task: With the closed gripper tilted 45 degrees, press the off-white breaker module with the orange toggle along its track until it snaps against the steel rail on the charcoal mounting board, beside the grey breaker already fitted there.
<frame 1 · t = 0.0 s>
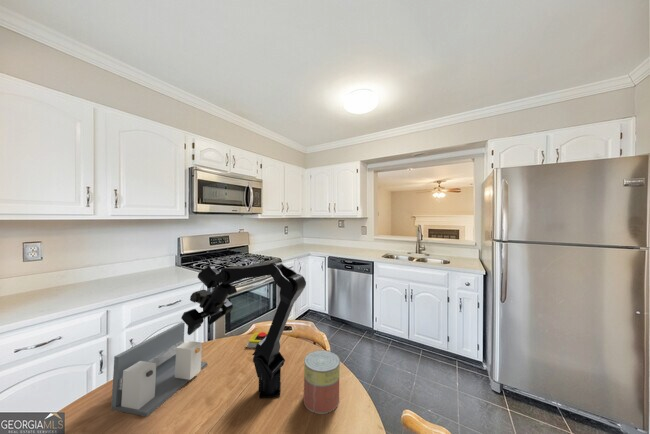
hand: (199, 328, 85), 15 cm above the table, tool tilted 35°, fingers open, 9 cm apart
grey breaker: (140, 384, 68), point 6 cm above the table
emergency button: (264, 344, 105), on the table
canned food: (321, 399, 71), on the table
mounting board: (175, 375, 81), on the table
steel rail: (156, 361, 77), point 7 cm above the table
breaker module: (189, 359, 80), point 6 cm above the table, slide at 5.0 cm
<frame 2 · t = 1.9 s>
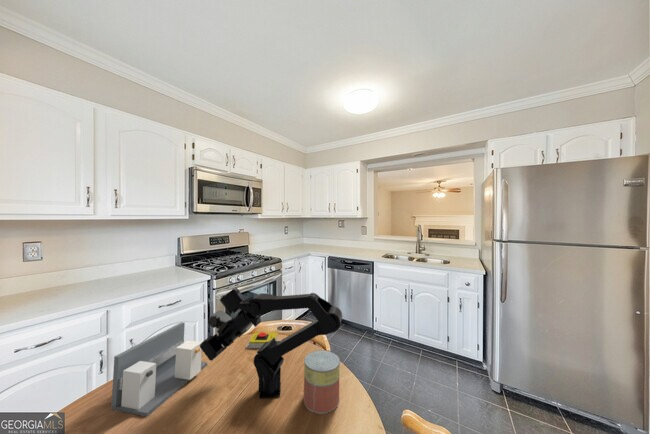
hand: (209, 352, 79), 10 cm above the table, tool tilted 45°, fingers closed
nothing on the table moved.
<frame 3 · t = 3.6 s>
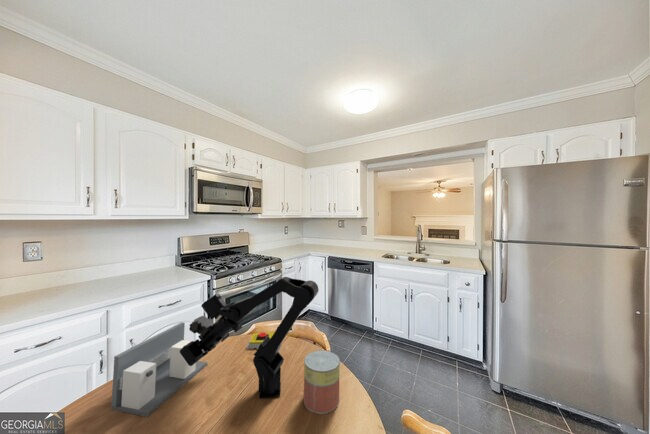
hand: (191, 357, 80), 7 cm above the table, tool tilted 45°, fingers closed, pressing on breaker module
breaker module: (184, 358, 81), point 6 cm above the table, slide at 2.8 cm, touching gripper
everything else where it was.
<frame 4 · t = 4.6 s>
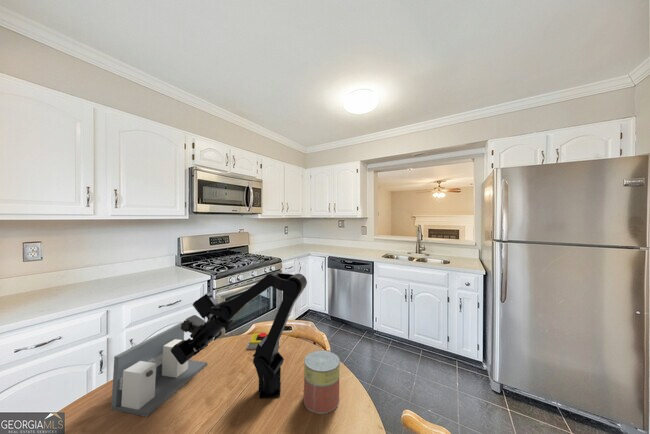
hand: (183, 356, 81), 7 cm above the table, tool tilted 45°, fingers closed, pressing on breaker module
breaker module: (176, 357, 81), point 6 cm above the table, slide at -0.3 cm, touching gripper, steel rail
everything else where it was.
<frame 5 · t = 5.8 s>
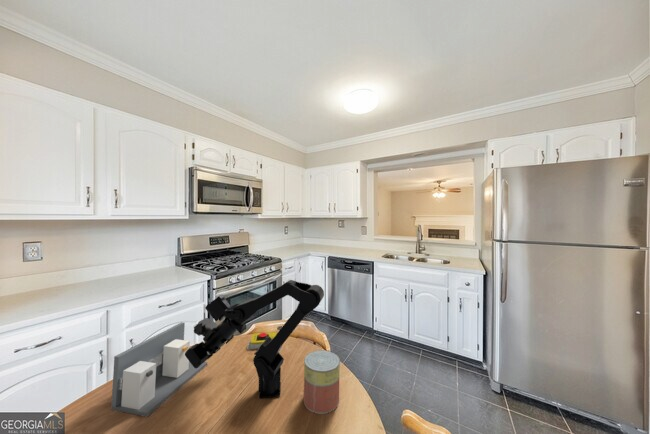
hand: (196, 360, 80), 6 cm above the table, tool tilted 45°, fingers closed
breaker module: (177, 357, 81), point 6 cm above the table, slide at 0.0 cm
everything else where it was.
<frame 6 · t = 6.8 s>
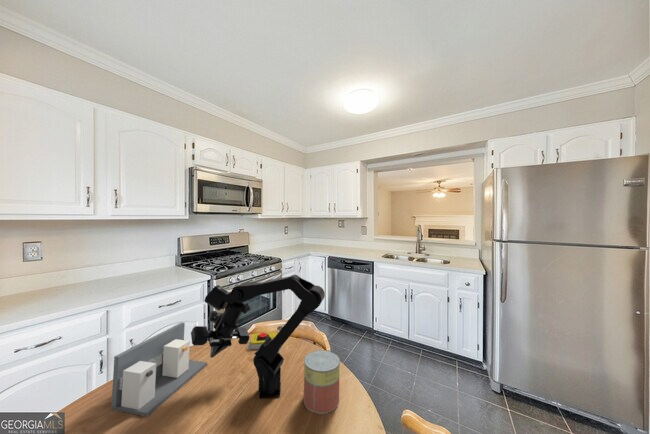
hand: (211, 356, 79), 8 cm above the table, tool tilted 25°, fingers closed
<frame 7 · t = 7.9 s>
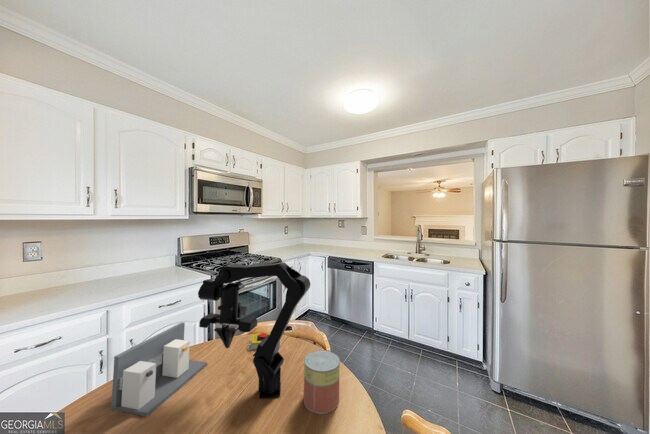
hand: (227, 347, 78), 12 cm above the table, tool pointing down, fingers closed
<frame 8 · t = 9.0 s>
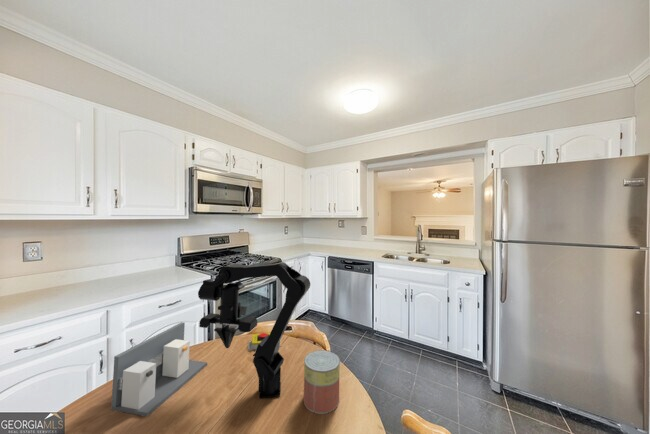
hand: (227, 347, 78), 12 cm above the table, tool pointing down, fingers closed
at the end: breaker module slide at 0.0 cm; the gripper is holding nothing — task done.
